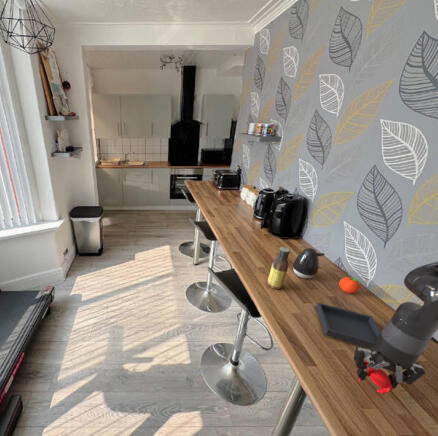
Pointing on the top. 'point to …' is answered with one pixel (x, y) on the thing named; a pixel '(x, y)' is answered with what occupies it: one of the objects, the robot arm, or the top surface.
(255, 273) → the top surface
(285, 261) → the sauce bottle
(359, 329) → the tray
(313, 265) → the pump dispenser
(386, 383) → the red animal figurine
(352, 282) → the clementine
